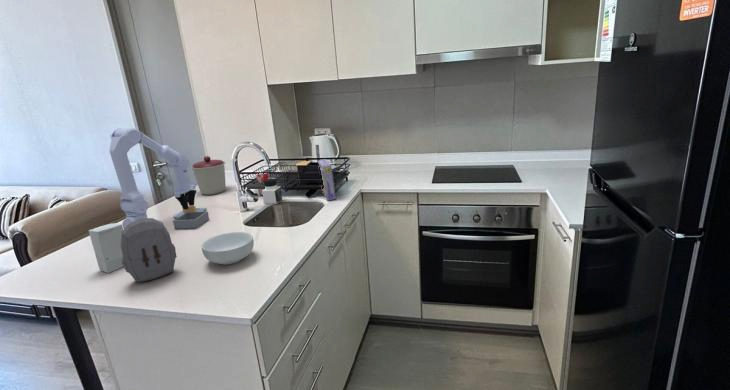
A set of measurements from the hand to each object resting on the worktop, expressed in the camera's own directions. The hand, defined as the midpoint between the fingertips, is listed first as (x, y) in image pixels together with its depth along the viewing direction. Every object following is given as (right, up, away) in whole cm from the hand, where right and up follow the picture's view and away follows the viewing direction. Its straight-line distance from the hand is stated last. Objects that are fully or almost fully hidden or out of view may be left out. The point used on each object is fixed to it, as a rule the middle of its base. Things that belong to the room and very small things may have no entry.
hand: (188, 207), depth 182 cm
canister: (-3, +7, +37) cm, 38 cm away
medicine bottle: (+38, +2, +11) cm, 39 cm away
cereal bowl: (+38, -16, -51) cm, 65 cm away
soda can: (+30, +6, +25) cm, 40 cm away
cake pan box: (+65, +5, +14) cm, 67 cm away
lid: (0, -4, +1) cm, 4 cm away
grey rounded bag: (+17, -21, -60) cm, 65 cm away
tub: (+8, -7, -13) cm, 17 cm away
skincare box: (-2, -19, -50) cm, 53 cm away
